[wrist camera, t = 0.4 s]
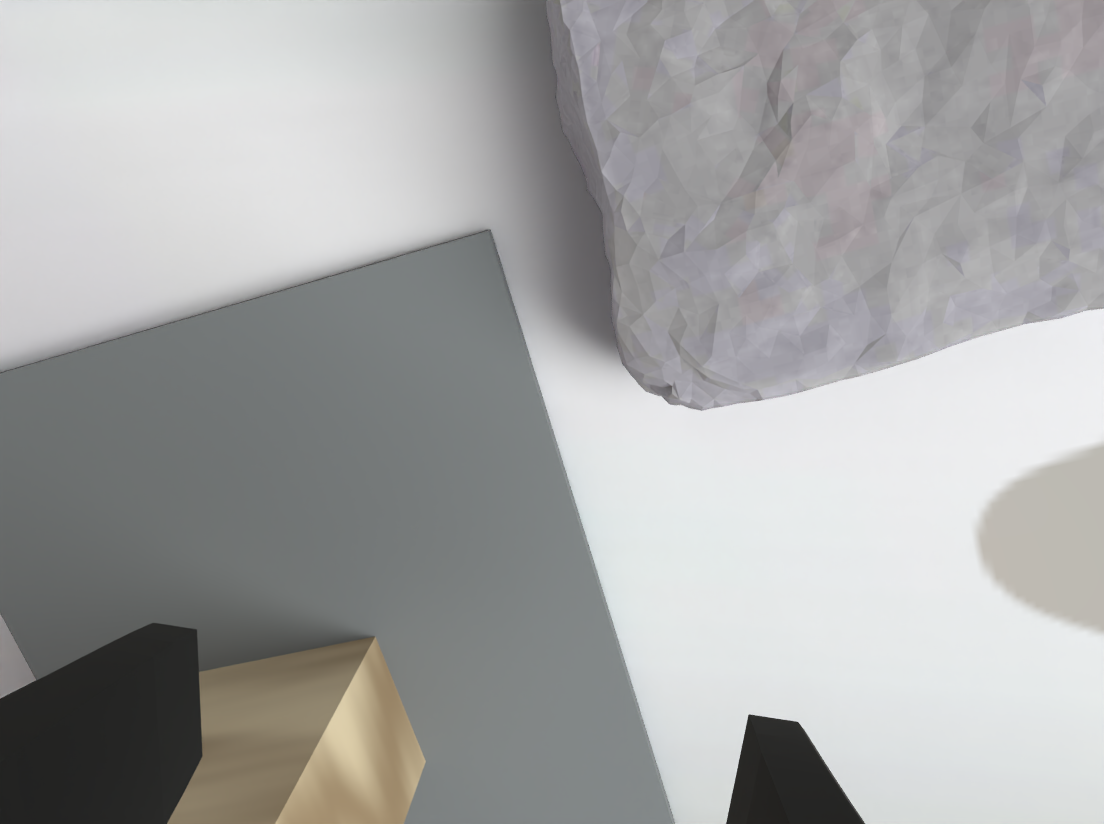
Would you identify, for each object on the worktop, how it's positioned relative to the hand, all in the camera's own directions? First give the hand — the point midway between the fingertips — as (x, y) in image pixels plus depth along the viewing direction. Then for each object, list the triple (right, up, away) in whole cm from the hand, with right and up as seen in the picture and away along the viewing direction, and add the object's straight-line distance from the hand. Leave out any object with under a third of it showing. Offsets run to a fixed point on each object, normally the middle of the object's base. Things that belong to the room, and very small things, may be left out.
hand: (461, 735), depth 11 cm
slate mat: (-5, -3, +12) cm, 14 cm away
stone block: (+7, +11, +7) cm, 15 cm away
